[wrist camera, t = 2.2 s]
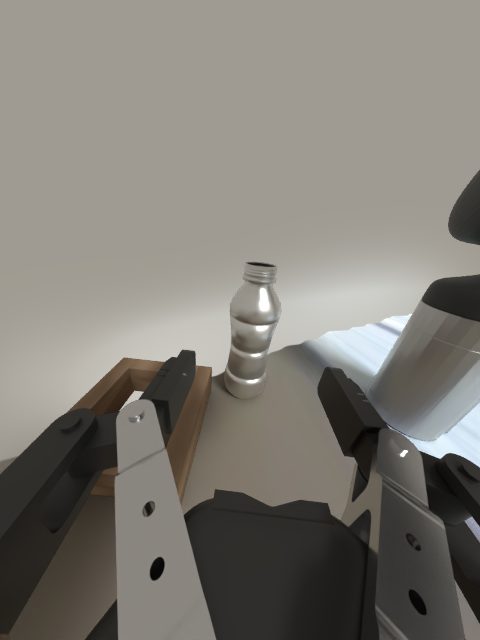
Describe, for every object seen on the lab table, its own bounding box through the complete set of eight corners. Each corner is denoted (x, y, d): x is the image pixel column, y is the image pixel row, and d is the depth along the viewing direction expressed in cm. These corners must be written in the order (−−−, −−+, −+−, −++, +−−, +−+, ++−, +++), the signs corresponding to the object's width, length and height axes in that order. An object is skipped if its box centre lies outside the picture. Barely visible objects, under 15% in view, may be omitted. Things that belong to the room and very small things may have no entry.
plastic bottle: (230, 370, 32) (240, 257, 23) (266, 380, 31) (291, 264, 22) (216, 397, 26) (222, 263, 18) (259, 411, 25) (289, 273, 16)
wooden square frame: (211, 388, 28) (211, 367, 26) (181, 505, 16) (177, 482, 14) (129, 379, 28) (123, 357, 26) (38, 488, 16) (14, 463, 14)
